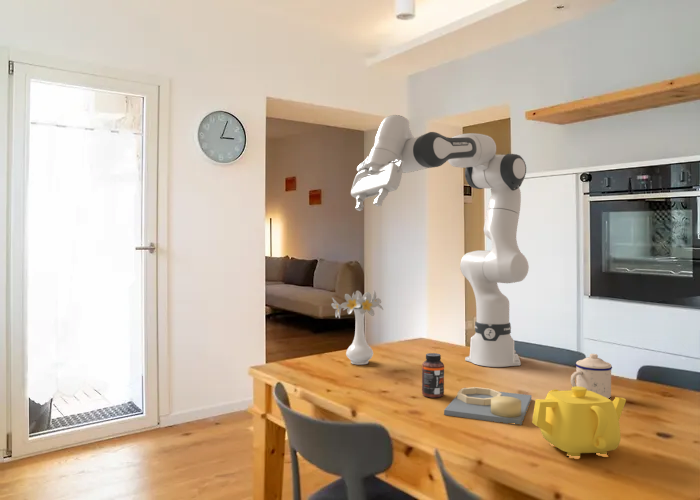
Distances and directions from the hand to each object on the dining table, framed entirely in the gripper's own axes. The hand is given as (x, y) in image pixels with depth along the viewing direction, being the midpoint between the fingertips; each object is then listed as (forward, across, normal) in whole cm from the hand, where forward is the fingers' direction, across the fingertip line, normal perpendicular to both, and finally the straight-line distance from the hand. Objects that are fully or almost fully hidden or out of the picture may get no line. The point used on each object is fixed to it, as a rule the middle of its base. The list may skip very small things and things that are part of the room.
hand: (367, 207), depth 153 cm
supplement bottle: (+44, -10, -33) cm, 55 cm away
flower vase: (+39, +33, -34) cm, 61 cm away
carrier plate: (+42, -26, -38) cm, 62 cm away
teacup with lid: (+31, -34, -65) cm, 80 cm away
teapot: (+47, -54, -35) cm, 79 cm away
